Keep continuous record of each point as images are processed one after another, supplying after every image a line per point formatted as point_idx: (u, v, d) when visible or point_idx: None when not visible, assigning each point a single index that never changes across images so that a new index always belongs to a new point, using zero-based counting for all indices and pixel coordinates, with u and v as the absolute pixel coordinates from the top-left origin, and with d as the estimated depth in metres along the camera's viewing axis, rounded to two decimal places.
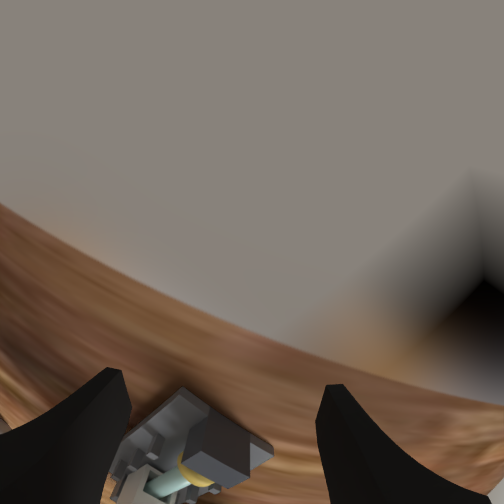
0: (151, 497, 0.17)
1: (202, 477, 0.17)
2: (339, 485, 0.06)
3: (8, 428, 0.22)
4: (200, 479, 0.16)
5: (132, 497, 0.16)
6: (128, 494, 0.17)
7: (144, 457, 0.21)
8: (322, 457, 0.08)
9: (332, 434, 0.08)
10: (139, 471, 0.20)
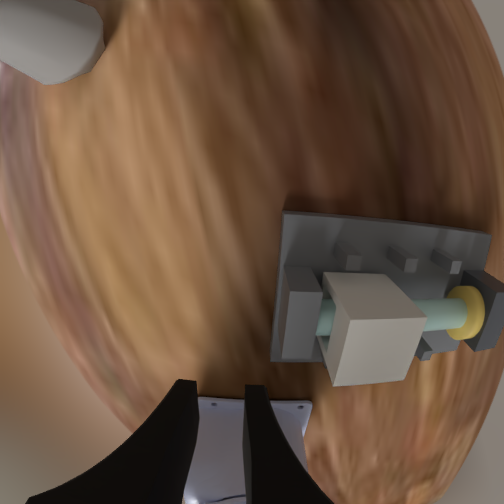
0: None
1: None
2: (247, 490, 0.06)
3: (101, 51, 0.13)
4: (481, 323, 0.14)
5: (410, 307, 0.12)
6: (384, 300, 0.13)
7: (386, 263, 0.17)
8: (243, 459, 0.08)
9: (244, 436, 0.07)
10: (370, 276, 0.16)
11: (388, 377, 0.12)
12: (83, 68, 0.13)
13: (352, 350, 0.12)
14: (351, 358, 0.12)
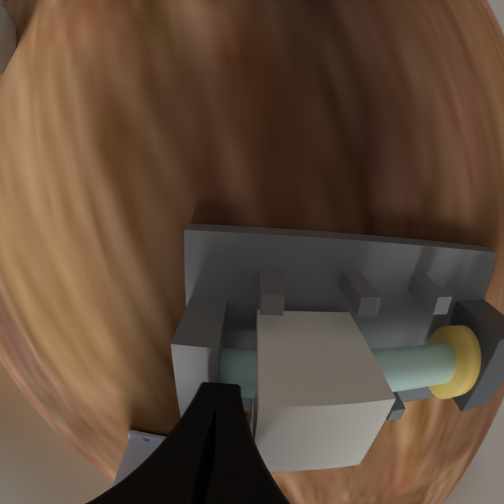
0: None
1: None
2: None
3: (10, 50, 0.09)
4: (474, 379, 0.09)
5: (371, 378, 0.08)
6: (331, 365, 0.09)
7: (339, 297, 0.12)
8: None
9: None
10: (325, 318, 0.12)
11: (333, 464, 0.08)
12: None
13: (269, 439, 0.07)
14: (270, 447, 0.08)
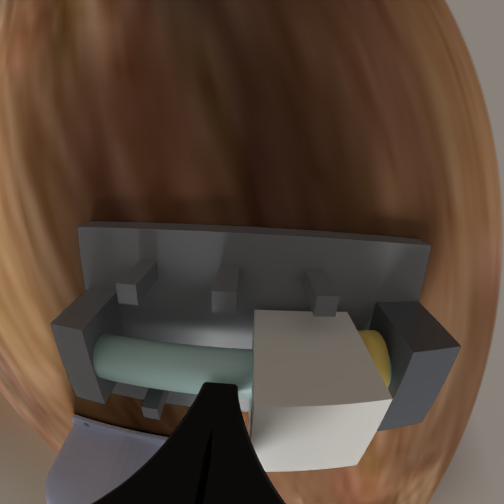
0: None
1: None
2: None
3: None
4: None
5: (368, 378, 0.08)
6: (328, 365, 0.09)
7: None
8: None
9: None
10: (322, 317, 0.12)
11: (331, 464, 0.08)
12: None
13: (266, 439, 0.07)
14: (267, 447, 0.08)
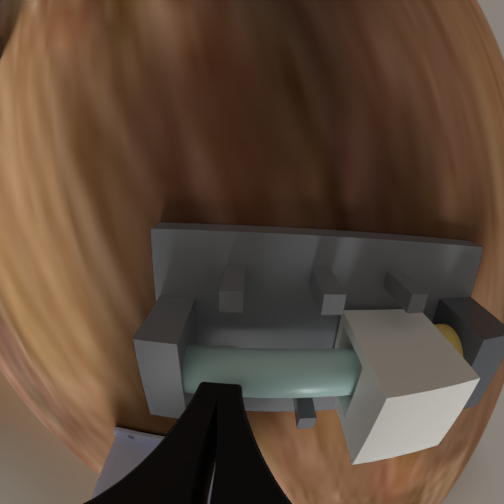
0: None
1: None
2: None
3: None
4: None
5: (458, 363, 0.08)
6: (425, 356, 0.09)
7: (309, 294, 0.12)
8: None
9: None
10: (402, 314, 0.12)
11: (421, 446, 0.08)
12: None
13: (382, 429, 0.07)
14: (380, 437, 0.08)
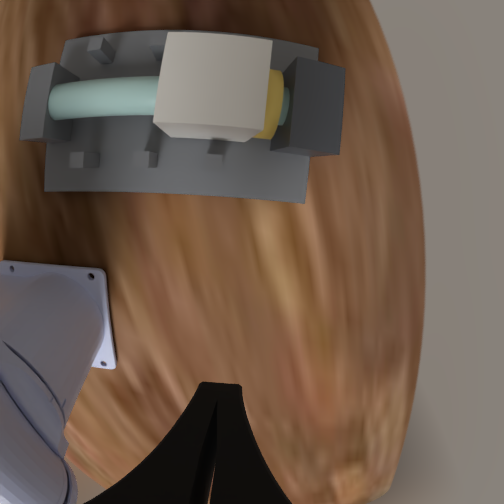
0: None
1: None
2: None
3: None
4: (282, 95, 0.11)
5: None
6: None
7: (156, 66, 0.13)
8: None
9: None
10: None
11: (234, 118, 0.10)
12: None
13: (172, 67, 0.09)
14: (172, 78, 0.09)
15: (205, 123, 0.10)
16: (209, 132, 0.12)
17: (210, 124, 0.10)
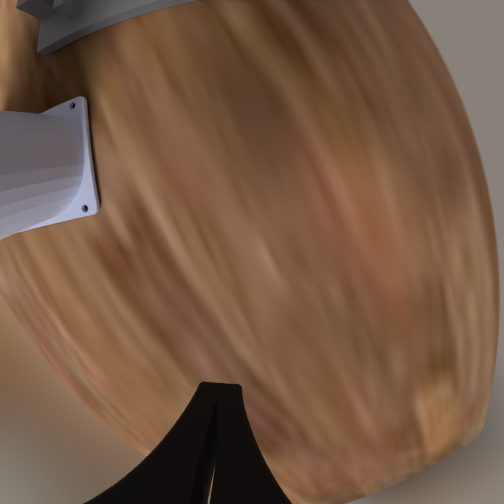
0: None
1: None
2: None
3: None
4: None
5: None
6: None
7: None
8: None
9: None
10: None
11: None
12: None
13: None
14: None
15: None
16: None
17: None
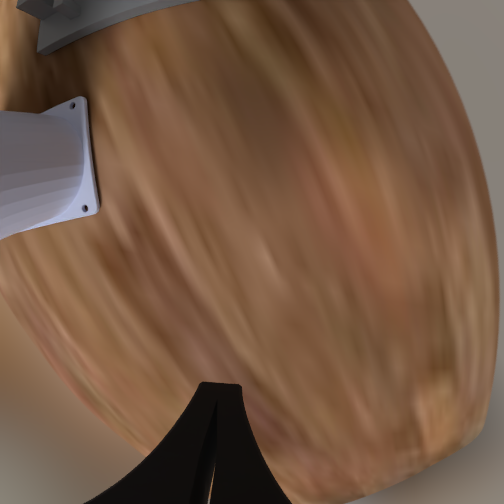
0: None
1: None
2: None
3: None
4: None
5: None
6: None
7: None
8: None
9: None
10: None
11: None
12: None
13: None
14: None
15: None
16: None
17: None
